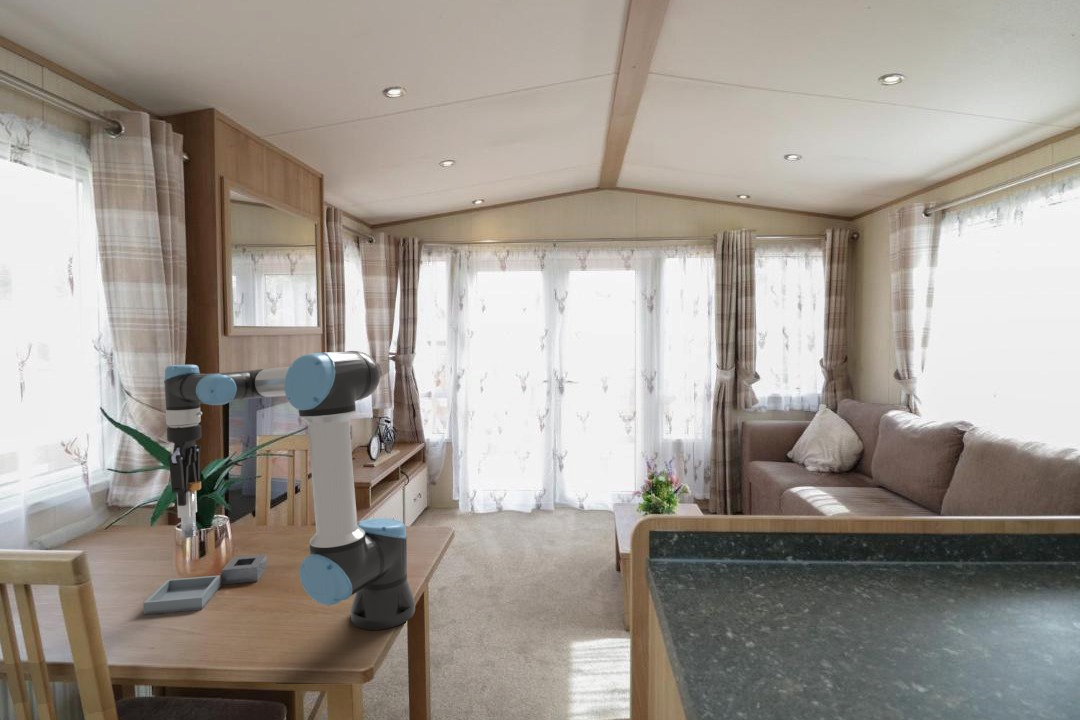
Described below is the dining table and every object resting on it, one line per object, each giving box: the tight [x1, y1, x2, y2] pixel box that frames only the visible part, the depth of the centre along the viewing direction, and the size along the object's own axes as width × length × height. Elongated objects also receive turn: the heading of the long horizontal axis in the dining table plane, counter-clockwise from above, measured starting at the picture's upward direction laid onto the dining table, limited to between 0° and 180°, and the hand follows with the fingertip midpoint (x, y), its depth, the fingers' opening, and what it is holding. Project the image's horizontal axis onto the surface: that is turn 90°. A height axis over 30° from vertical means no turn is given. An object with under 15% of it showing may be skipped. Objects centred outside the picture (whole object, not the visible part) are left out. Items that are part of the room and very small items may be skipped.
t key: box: [180, 480, 202, 539], centre depth 146 cm, size 6×3×14 cm, turn 107°
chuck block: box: [221, 554, 268, 585], centre depth 160 cm, size 9×9×4 cm
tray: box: [143, 574, 222, 615], centre depth 146 cm, size 13×13×3 cm
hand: (187, 514), depth 146 cm, fingers closed on t key, 3 cm apart
